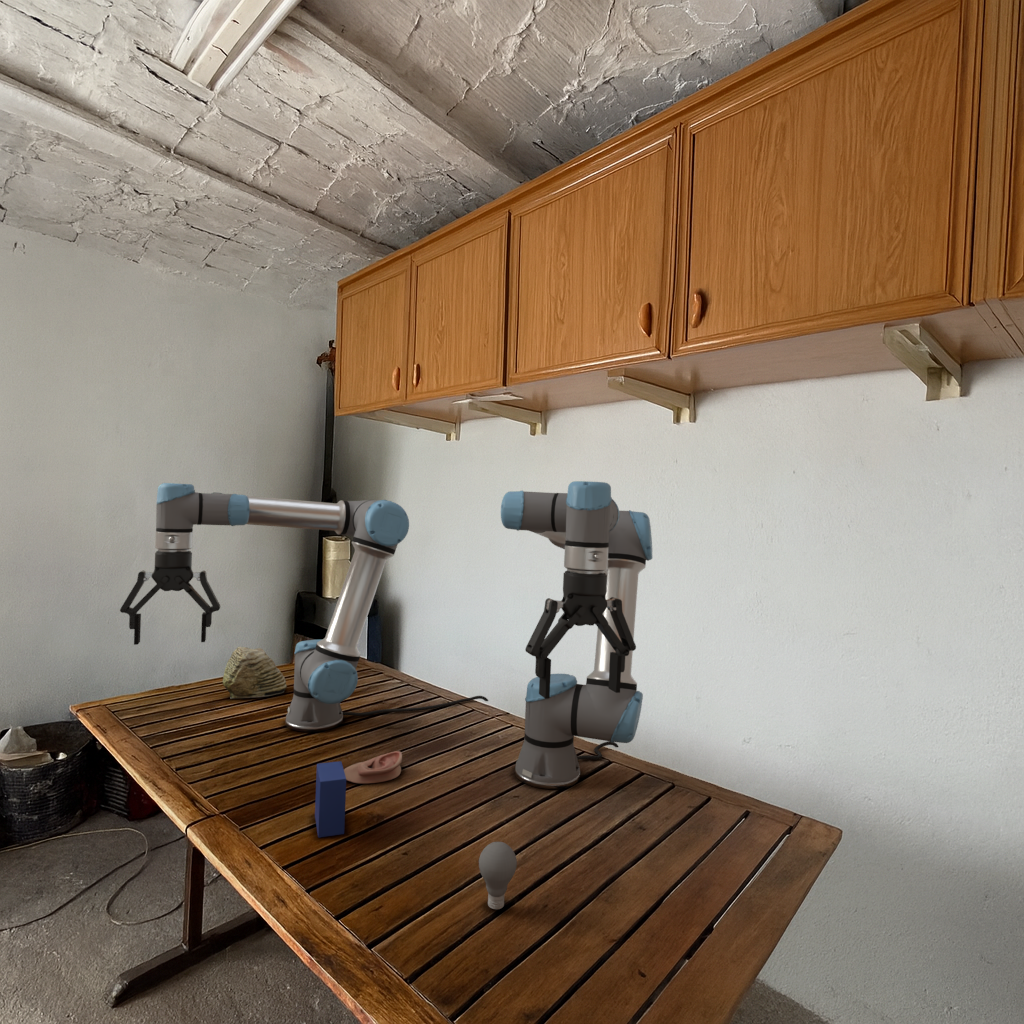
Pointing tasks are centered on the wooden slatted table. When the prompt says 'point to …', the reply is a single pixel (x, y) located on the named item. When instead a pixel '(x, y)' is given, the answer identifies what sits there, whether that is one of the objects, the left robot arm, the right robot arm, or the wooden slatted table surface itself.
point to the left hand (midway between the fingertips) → (170, 642)
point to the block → (330, 799)
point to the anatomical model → (375, 769)
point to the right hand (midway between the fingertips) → (579, 693)
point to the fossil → (252, 674)
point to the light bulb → (497, 871)
